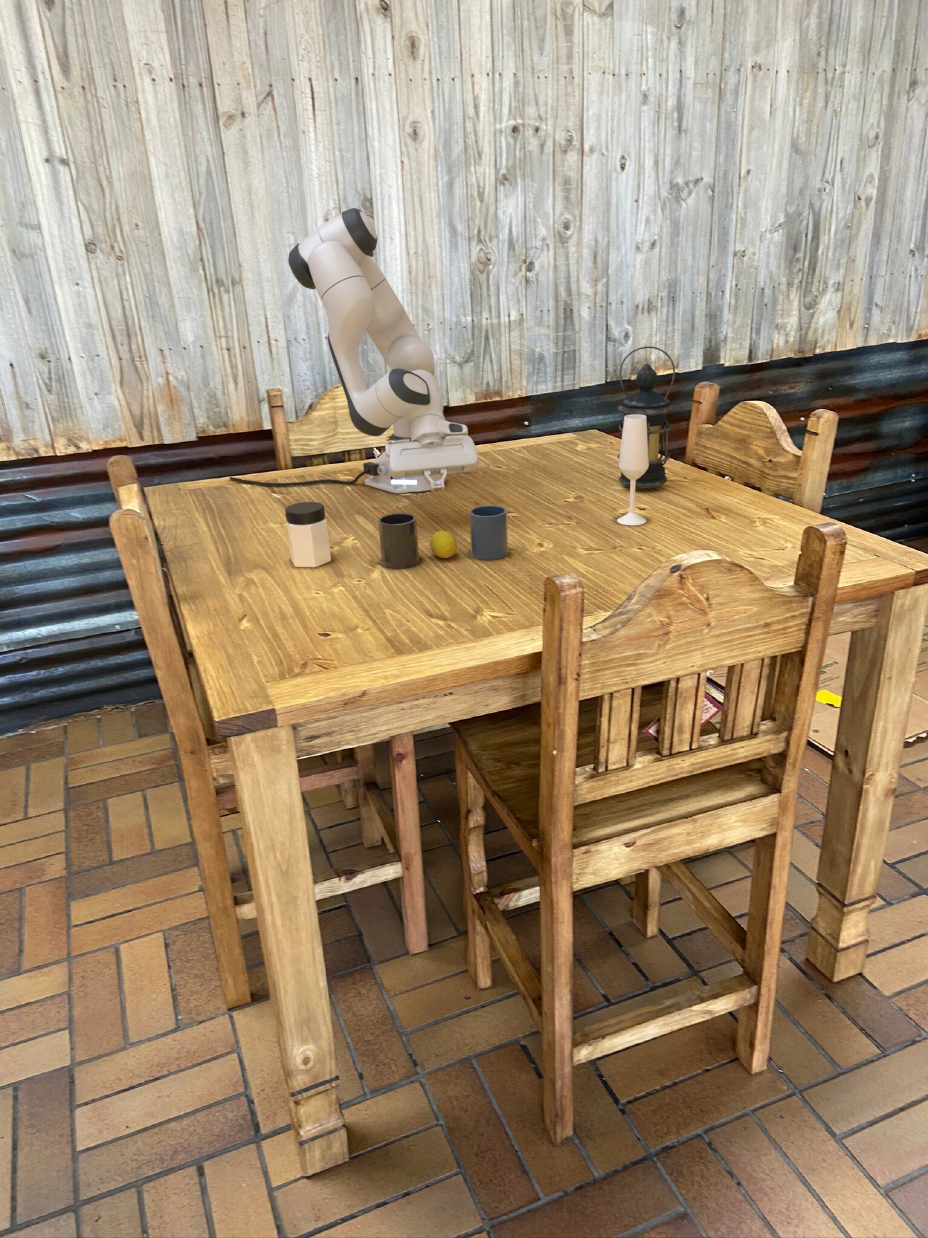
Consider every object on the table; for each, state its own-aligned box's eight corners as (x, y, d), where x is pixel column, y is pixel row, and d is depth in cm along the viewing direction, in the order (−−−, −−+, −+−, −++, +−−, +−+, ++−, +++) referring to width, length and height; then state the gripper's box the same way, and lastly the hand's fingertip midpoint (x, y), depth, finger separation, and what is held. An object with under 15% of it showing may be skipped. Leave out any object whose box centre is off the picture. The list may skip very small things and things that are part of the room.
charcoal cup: (374, 564, 186) (370, 521, 182) (398, 553, 192) (395, 511, 188) (402, 571, 182) (399, 527, 178) (426, 559, 188) (423, 516, 184)
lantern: (606, 490, 228) (609, 349, 213) (626, 477, 238) (630, 342, 223) (659, 497, 220) (666, 351, 206) (678, 483, 231) (685, 344, 216)
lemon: (447, 522, 190) (457, 534, 183) (453, 546, 193) (463, 558, 186) (423, 530, 189) (432, 542, 182) (429, 554, 192) (439, 566, 185)
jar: (314, 551, 196) (308, 498, 191) (339, 558, 191) (333, 504, 186) (282, 563, 189) (275, 509, 184) (307, 571, 184) (300, 515, 180)
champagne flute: (650, 517, 206) (654, 414, 196) (641, 526, 201) (645, 420, 191) (622, 514, 209) (625, 412, 199) (612, 523, 204) (615, 418, 194)
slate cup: (464, 556, 188) (462, 513, 185) (485, 545, 194) (483, 503, 190) (494, 562, 184) (492, 518, 180) (515, 551, 190) (513, 508, 186)
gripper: (383, 433, 198) (391, 487, 193) (473, 424, 201) (483, 477, 196) (384, 448, 204) (391, 501, 199) (471, 439, 206) (480, 491, 202)
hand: (437, 489), depth 197 cm, fingers closed
